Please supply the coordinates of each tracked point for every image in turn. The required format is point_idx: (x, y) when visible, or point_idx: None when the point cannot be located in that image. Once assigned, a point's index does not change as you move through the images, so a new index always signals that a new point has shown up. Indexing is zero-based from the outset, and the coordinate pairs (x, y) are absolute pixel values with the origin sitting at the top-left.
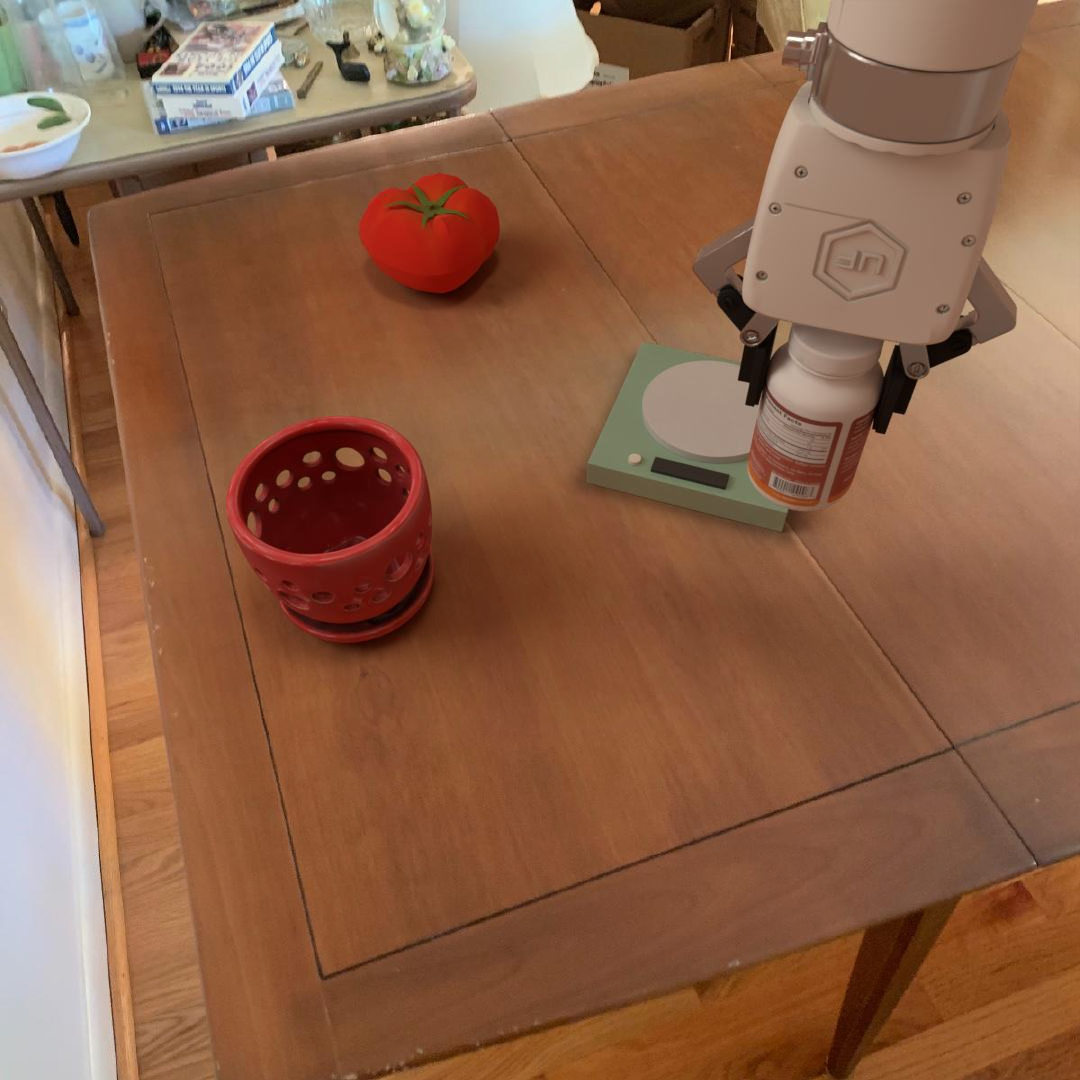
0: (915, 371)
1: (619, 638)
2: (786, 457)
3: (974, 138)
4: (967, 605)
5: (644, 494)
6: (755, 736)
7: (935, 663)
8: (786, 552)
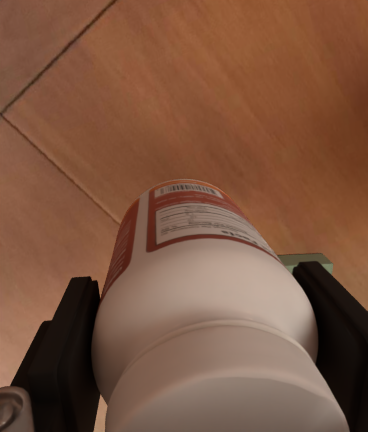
0: (2, 407)
1: (267, 121)
2: (215, 205)
3: None
4: (25, 244)
5: (278, 256)
6: (145, 68)
7: (33, 185)
8: None
